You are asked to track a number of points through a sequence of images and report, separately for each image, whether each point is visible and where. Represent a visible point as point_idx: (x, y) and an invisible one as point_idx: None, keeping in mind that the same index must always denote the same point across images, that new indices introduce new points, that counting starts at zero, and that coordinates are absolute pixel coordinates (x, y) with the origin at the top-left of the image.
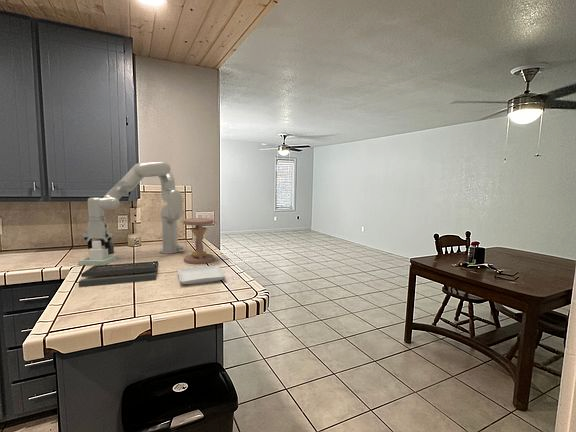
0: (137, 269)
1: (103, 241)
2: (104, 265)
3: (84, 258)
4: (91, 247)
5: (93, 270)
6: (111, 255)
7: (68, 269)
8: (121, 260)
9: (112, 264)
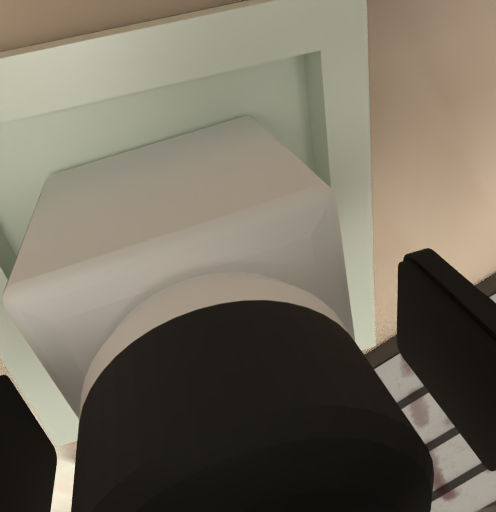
0: None
1: (431, 471)
2: (397, 350)
3: (13, 360)
4: (26, 417)
5: (435, 497)
6: (280, 56)
7: None
8: (434, 51)
9: None
